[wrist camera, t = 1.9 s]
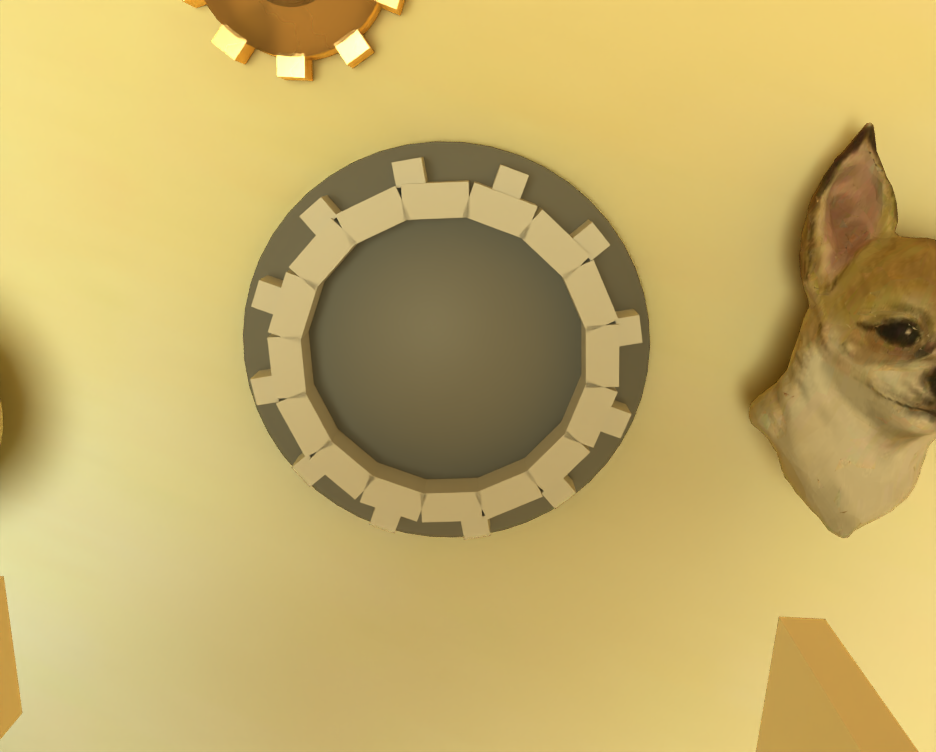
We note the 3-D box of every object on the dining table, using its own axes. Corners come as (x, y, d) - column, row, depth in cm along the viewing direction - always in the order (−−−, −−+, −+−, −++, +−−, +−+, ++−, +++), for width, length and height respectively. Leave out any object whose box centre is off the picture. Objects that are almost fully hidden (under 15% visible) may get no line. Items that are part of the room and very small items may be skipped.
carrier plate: (203, 457, 38) (185, 477, 35) (315, 77, 33) (302, 72, 31) (556, 577, 39) (561, 604, 37) (712, 229, 34) (729, 235, 32)
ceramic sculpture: (731, 505, 28) (942, 97, 25) (668, 434, 37) (820, 122, 34) (988, 608, 29) (1219, 227, 26) (868, 516, 38) (1034, 220, 35)
